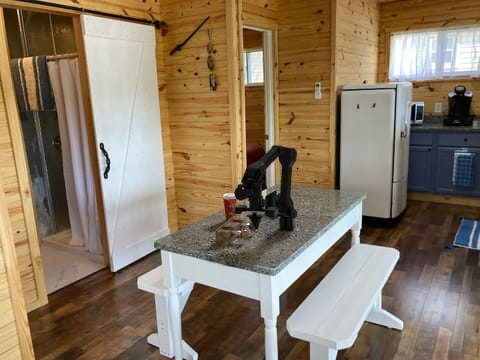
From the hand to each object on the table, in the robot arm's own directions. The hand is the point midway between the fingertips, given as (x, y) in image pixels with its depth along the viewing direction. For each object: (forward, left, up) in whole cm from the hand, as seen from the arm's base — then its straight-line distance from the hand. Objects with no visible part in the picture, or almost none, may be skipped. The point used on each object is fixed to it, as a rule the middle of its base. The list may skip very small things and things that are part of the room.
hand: (257, 229), depth 173 cm
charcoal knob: (+9, -10, -5) cm, 14 cm away
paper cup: (+25, -26, -7) cm, 37 cm away
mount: (+15, -5, -7) cm, 17 cm away
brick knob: (+9, 0, -5) cm, 10 cm away
